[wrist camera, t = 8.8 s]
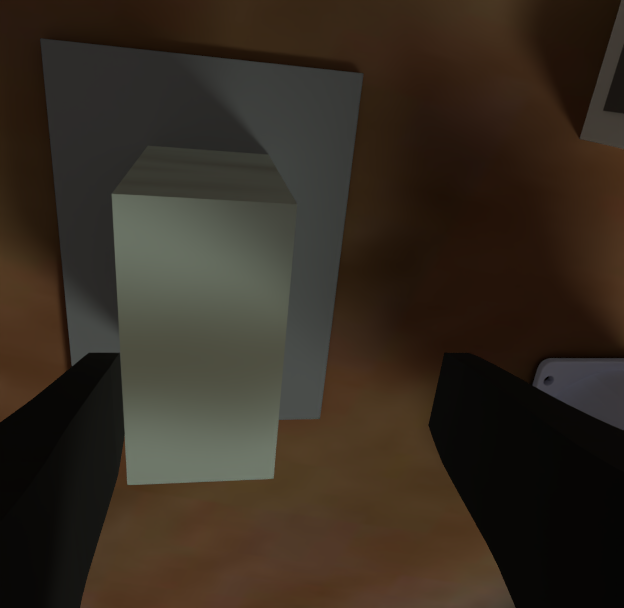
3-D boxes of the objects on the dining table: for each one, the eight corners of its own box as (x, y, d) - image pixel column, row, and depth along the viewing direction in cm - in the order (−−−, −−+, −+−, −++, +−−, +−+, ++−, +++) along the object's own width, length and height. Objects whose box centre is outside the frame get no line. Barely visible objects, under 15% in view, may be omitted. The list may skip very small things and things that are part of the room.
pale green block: (255, 356, 22) (273, 478, 15) (153, 356, 21) (127, 484, 15) (268, 154, 18) (297, 204, 12) (147, 145, 18) (111, 193, 11)
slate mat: (318, 413, 24) (319, 418, 23) (79, 417, 22) (77, 423, 21) (360, 73, 18) (363, 73, 18) (44, 38, 16) (39, 38, 16)
